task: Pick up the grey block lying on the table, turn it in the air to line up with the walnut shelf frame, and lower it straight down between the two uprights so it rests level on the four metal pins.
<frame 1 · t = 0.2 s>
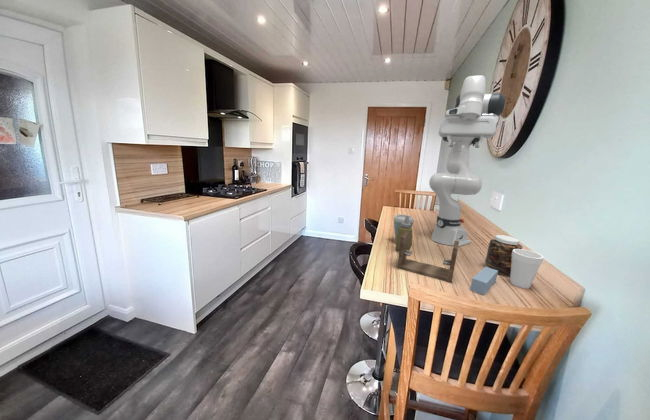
hand: (463, 146, 101), 52 cm above the counter, tool tilted 20°, fingers open, 8 cm apart
jar: (499, 270, 111), on the counter
shelf frame: (424, 270, 106), on the counter
disposable coffee cup: (400, 242, 139), on the counter
squeeze bottle: (402, 250, 127), on the counter
grey block: (483, 286, 96), on the counter
foam cup: (519, 284, 99), on the counter
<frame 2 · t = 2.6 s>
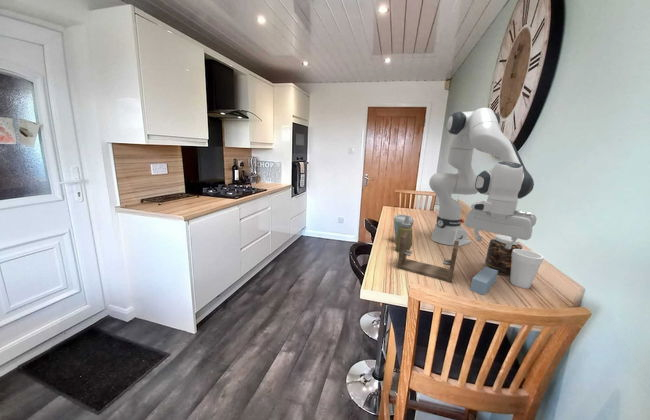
hand: (492, 244, 92), 17 cm above the counter, tool pointing down, fingers open, 8 cm apart
nothing on the counter moved.
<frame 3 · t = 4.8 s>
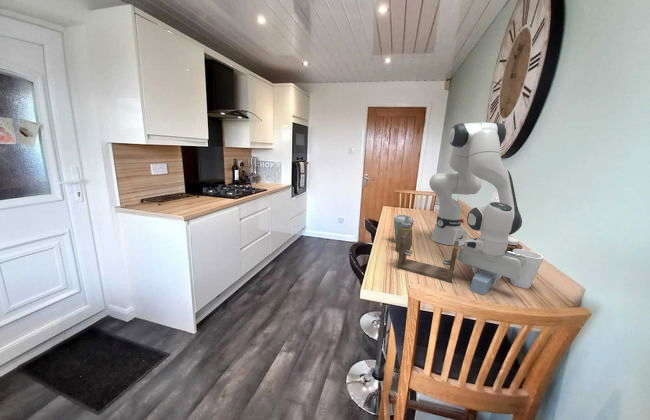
hand: (484, 280, 96), 2 cm above the counter, tool pointing down, fingers closed on grey block, 4 cm apart
grey block: (483, 285, 96), on the counter, touching gripper
everything else where it was.
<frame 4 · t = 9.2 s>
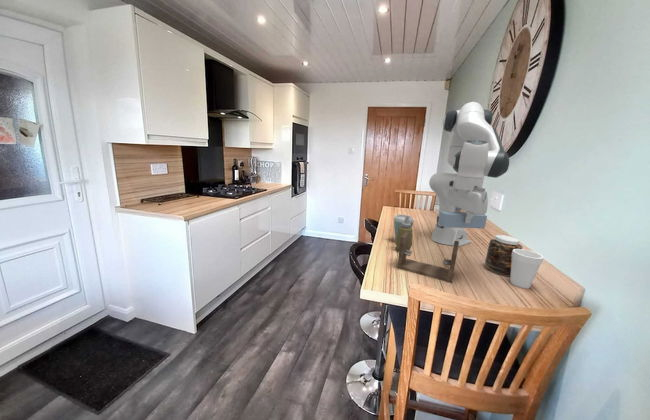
hand: (461, 220, 96), 24 cm above the counter, tool pointing down, fingers closed on grey block, 4 cm apart
grey block: (460, 226, 97), point 22 cm above the counter, touching gripper
everything else where it was.
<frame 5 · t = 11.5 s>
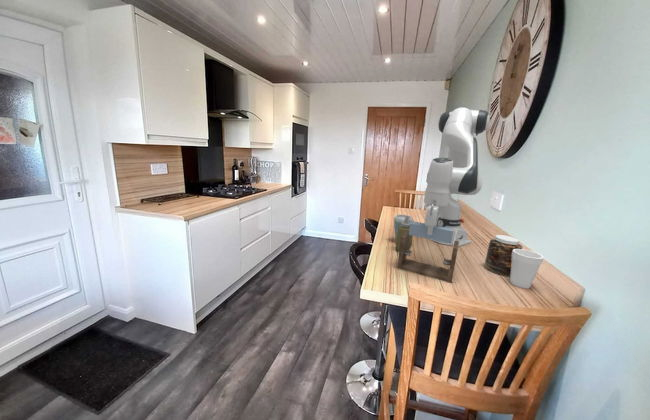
hand: (430, 232, 102), 17 cm above the counter, tool pointing down, fingers closed on grey block, 4 cm apart
grey block: (429, 237, 103), point 15 cm above the counter, touching gripper
everything else where it was.
when the fingers open (10 cm above the counter, at t = 13.5 s): grey block drops 1 cm, resting on shelf frame.
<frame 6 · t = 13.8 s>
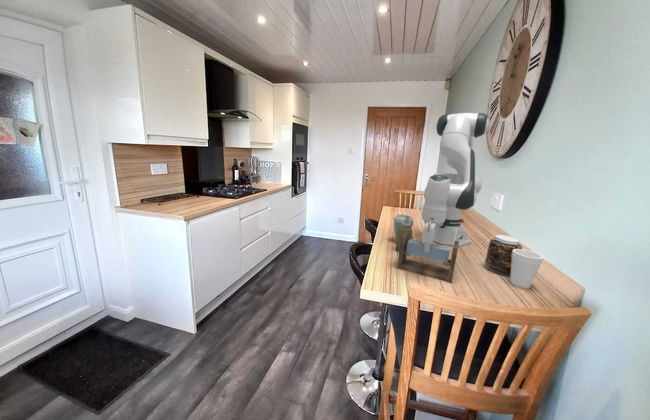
hand: (428, 248, 104), 10 cm above the counter, tool pointing down, fingers open, 7 cm apart
grey block: (426, 255, 105), point 7 cm above the counter, touching shelf frame
everything else where it was.
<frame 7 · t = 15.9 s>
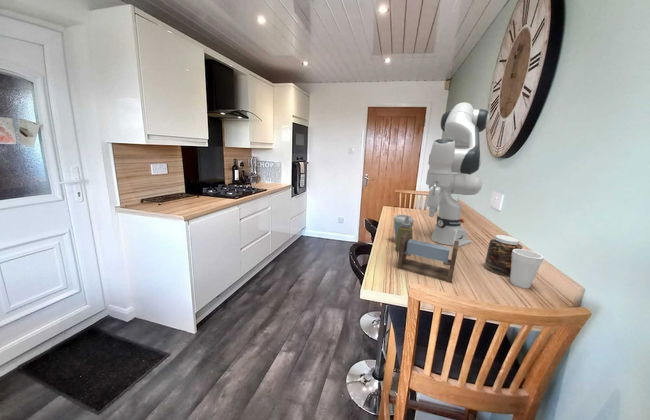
hand: (432, 214, 103), 24 cm above the counter, tool pointing down, fingers open, 8 cm apart
nothing on the counter moved.
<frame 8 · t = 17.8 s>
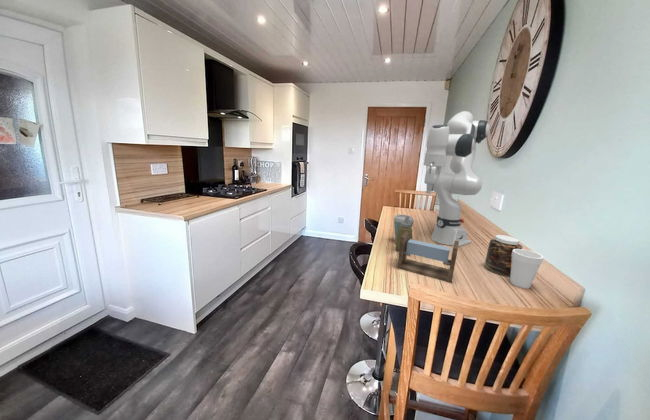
hand: (429, 192, 116), 31 cm above the counter, tool pointing down, fingers open, 8 cm apart
nothing on the counter moved.
at the end: grey block 0.1 cm off-centre on the shelf frame, point 6.6 cm above the shelf frame's base; grey block tilted 0°; the gripper is holding nothing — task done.
